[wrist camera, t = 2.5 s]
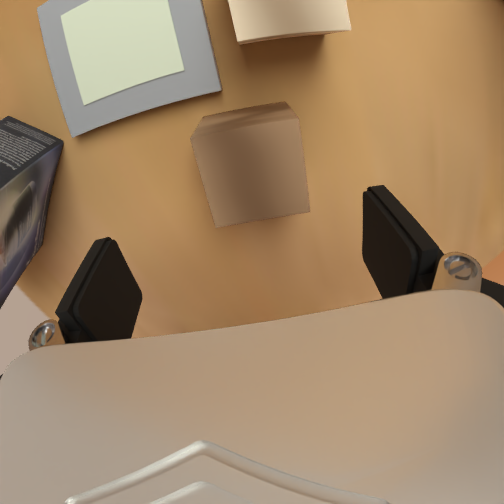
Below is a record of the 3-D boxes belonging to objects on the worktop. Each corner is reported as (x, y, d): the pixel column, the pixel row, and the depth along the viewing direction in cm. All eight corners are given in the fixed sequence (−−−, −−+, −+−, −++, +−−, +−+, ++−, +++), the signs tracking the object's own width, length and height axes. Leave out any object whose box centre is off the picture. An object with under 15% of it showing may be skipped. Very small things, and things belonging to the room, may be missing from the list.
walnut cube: (285, 101, 17) (298, 118, 13) (296, 174, 20) (310, 211, 16) (203, 116, 17) (190, 138, 13) (221, 187, 20) (215, 228, 16)
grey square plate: (189, -54, 10) (185, -59, 9) (222, 88, 16) (220, 90, 15) (45, 8, 11) (36, 8, 10) (78, 133, 17) (71, 138, 16)
